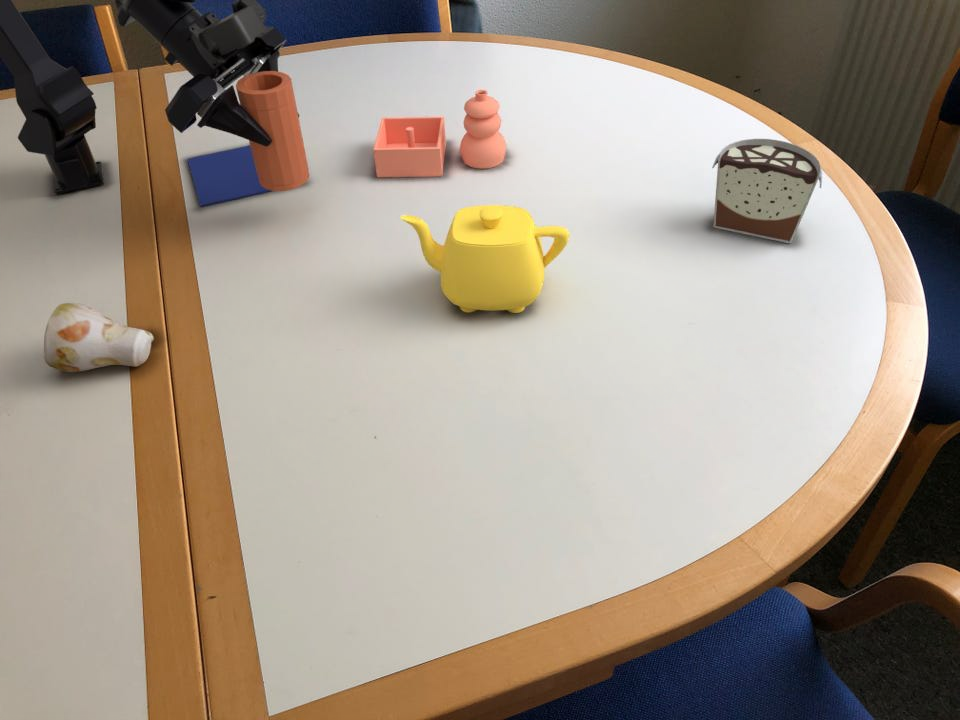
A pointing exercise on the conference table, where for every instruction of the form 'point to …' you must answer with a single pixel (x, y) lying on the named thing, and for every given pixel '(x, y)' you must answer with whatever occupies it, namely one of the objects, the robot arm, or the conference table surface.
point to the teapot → (491, 257)
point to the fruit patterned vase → (91, 340)
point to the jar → (275, 129)
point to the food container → (764, 187)
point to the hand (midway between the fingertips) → (283, 131)
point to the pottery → (439, 141)
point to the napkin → (225, 176)
